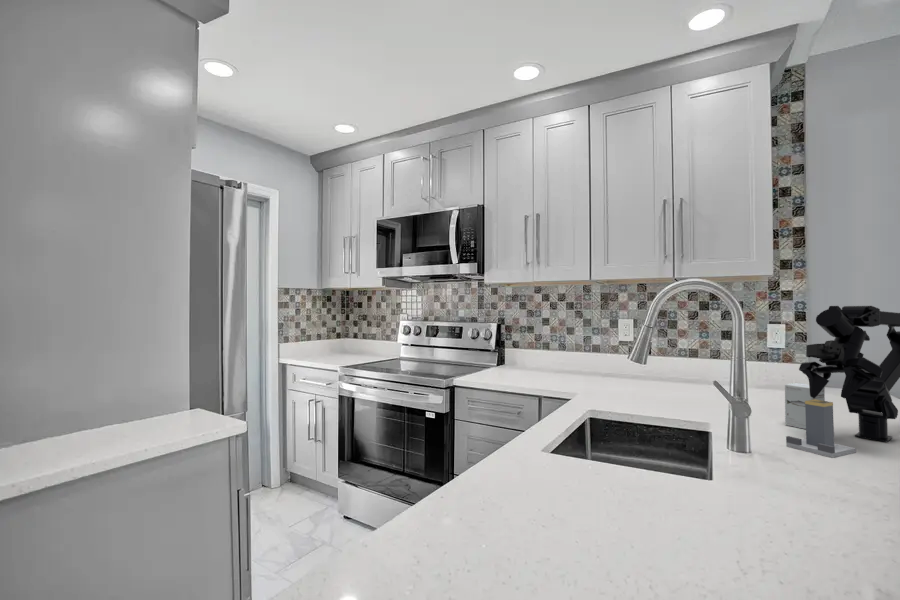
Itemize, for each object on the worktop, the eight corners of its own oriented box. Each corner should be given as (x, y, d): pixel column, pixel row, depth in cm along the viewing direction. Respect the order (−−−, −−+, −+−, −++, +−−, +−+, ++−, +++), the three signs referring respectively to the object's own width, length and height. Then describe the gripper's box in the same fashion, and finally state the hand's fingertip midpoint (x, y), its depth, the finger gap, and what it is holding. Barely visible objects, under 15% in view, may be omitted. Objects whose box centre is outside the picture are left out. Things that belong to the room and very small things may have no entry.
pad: (809, 441, 117) (809, 432, 117) (855, 452, 108) (855, 442, 108) (786, 446, 113) (786, 436, 114) (832, 457, 104) (832, 447, 104)
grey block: (815, 442, 114) (814, 399, 114) (834, 446, 110) (832, 402, 110) (806, 443, 112) (805, 400, 112) (824, 448, 108) (823, 403, 109)
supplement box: (784, 425, 134) (783, 384, 135) (798, 422, 137) (797, 382, 138) (812, 431, 128) (811, 387, 128) (826, 428, 131) (825, 385, 131)
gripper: (791, 335, 128) (772, 382, 125) (851, 326, 110) (830, 380, 106) (826, 355, 127) (808, 402, 124) (892, 348, 109) (872, 404, 106)
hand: (827, 397), depth 115 cm, fingers open, 9 cm apart
